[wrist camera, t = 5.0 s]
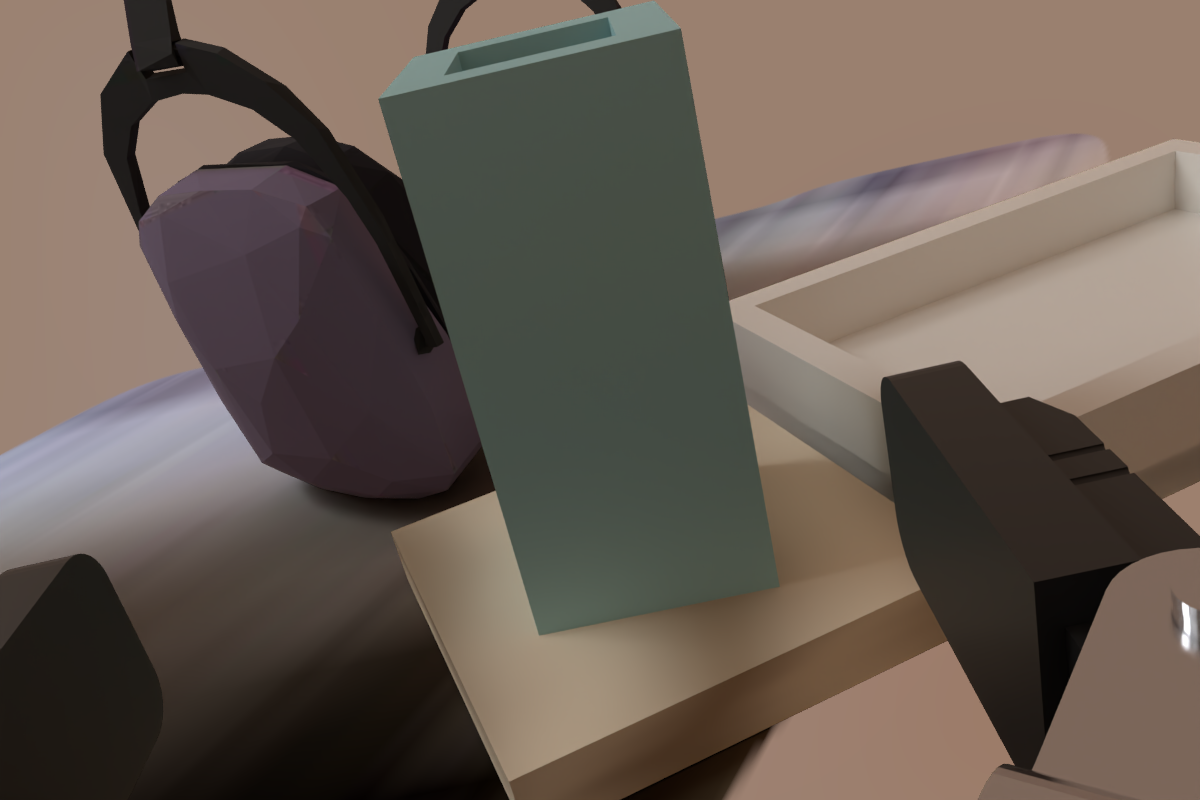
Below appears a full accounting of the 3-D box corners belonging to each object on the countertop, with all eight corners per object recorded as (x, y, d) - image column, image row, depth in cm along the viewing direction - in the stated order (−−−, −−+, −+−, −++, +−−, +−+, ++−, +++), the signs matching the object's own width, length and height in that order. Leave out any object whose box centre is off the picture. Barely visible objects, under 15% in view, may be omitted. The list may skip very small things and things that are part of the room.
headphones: (708, 304, 41) (594, -309, 32) (442, 562, 29) (146, -319, 20) (508, 303, 46) (364, -228, 37) (208, 523, 34) (-107, -196, 25)
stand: (529, 843, 19) (357, 333, 15) (408, 579, 28) (276, 210, 24) (985, 621, 22) (947, 133, 18) (744, 443, 31) (680, 88, 26)
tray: (991, 579, 23) (982, 458, 22) (725, 397, 33) (708, 308, 32) (1562, 308, 28) (1583, 195, 26) (1172, 222, 38) (1173, 138, 37)
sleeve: (780, 586, 22) (680, 28, 17) (538, 635, 22) (378, 98, 18) (740, 468, 26) (654, 0, 22) (541, 509, 27) (414, 56, 22)
